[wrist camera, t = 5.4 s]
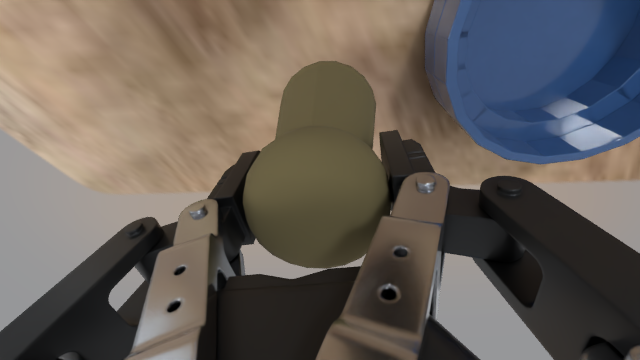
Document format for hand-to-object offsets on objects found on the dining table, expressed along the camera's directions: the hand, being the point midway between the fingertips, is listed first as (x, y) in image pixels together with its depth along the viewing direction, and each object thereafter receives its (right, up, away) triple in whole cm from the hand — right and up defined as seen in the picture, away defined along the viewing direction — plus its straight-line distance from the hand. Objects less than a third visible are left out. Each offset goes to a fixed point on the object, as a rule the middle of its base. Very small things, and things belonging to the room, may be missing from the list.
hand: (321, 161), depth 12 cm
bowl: (+15, +10, +7) cm, 19 cm away
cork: (0, +4, +6) cm, 7 cm away
